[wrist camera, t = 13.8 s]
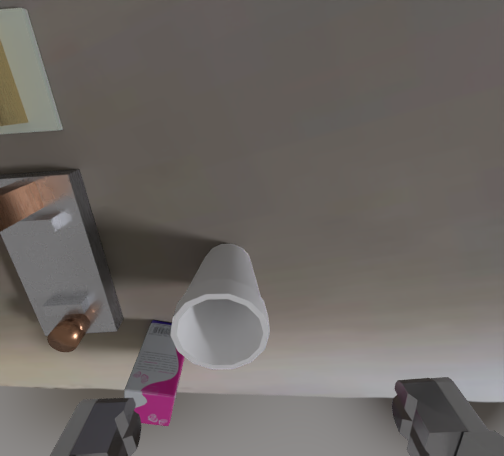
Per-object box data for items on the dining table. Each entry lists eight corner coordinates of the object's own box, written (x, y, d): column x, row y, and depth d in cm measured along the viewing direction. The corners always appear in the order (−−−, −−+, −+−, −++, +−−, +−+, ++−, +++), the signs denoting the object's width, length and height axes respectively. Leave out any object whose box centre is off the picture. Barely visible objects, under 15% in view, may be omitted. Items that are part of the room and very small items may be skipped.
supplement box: (148, 348, 47) (119, 422, 36) (152, 318, 45) (123, 388, 34) (185, 354, 47) (168, 428, 37) (191, 325, 45) (175, 395, 35)
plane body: (-6, 175, 36) (-87, 201, 27) (79, 169, 36) (25, 193, 27) (55, 323, 45) (9, 379, 36) (123, 319, 44) (93, 373, 36)
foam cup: (276, 268, 41) (288, 339, 30) (225, 304, 44) (217, 383, 32) (230, 218, 38) (223, 275, 26) (178, 259, 41) (149, 328, 29)
